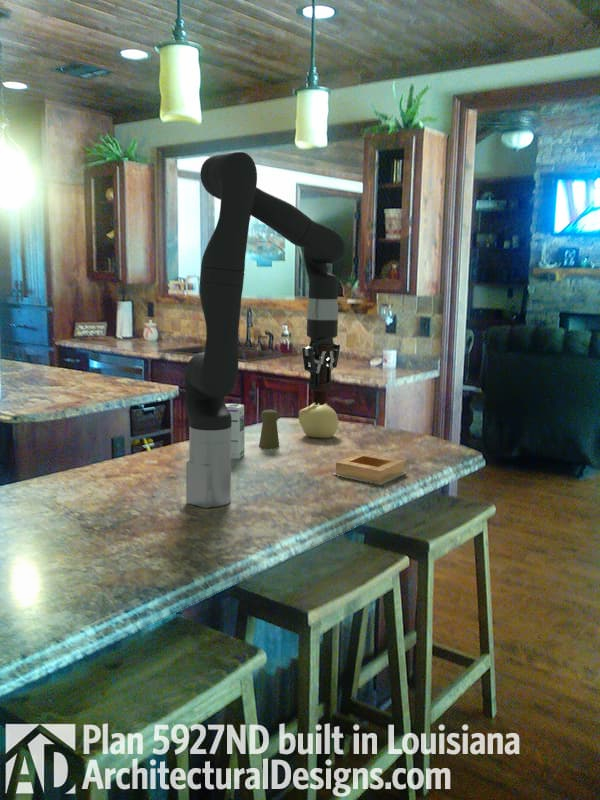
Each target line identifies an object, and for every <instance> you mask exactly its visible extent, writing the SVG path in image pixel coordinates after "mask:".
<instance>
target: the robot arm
mask: <svg viewBox="0 0 600 800" xmlns="http://www.w3.org/2000/svg"><path fill="white" fill-rule="evenodd" d="M257 172H258V170H257V166H256V164H255V161H254V159H253V158H252V156H251V155H250V154H248V153H247V152H245V151H238V150H237V151H230V152H224V153H219V154H214V155H211V156H209V157H208V158H207V159H206V160H204V162H203V163H202V165H201V168H200V174H199V175H200V181H201V183H202V187H203V188H204V189H205V191H206V192H207V193H208V194H209V195H211V196H212V197H214V198H216V199H218V200H220V208H219V215H218V220H217V224H216V227H215V229H214V231H213V233H212V235H211V236H210V239H209V240H208V243H207V245H206V248H205V250H204V251H203V255H202V259H201V263H200V264H201V265H200V267H201V268H200V273H199V287H198V288H199V290H198V291H199V299H200V303H201V307H202V308H201V309H202V312H203V318H204V323H205V329H206V335H205V337H206V338H205V348H204V351H203V352H198V353H196V354H194V355H193V356H192V357H191V359H189V361H188V363H187V365H186V369H185V374H184V386H185V387H184V390H185V391H184V393H185V410H186V414H187V416H188V420H189V421H188V423H189V424H188V425H189V429H188V430H189V433H188V434H189V445H188V446H189V450H188V451H189V454H188V455H189V460H188V461H186V463H185V465H186V466H185V471H186V472H185V475H186V477H185V478H186V479H185V480H186V482H185V484H186V485H185V486H186V487H185V489H186V491H185V493H186V494H185V497H186V499H185V502H186V504H188V505H193V506H195V507H196V506H197V507H201V508H203V509H209V508H217V507H221V506H225V505H228V504H230V502H231V501H232V500H231V499H232V498H231V497H232V495H231V494H232V491H231V490H232V484H231V483H232V459H231V425H232V418H231V414H230V412H229V411H228V409H227V407H226V405H225V404H226V403H225V398H226V397H228V396H229V395H231V393H232V392H233V391H234V390H235V388H236V385H237V384H238V379H239V327H240V321H241V319H240V318H241V307H242V296H243V289H244V281H245V269H246V268H245V267H246V257H247V256H246V253H247V245H248V236H249V228H250V220H251V217H253V218H254V219H257V220H258V221H259V222H260V223H262V224H264V225H266V226H267V227H268V228H270V229H272V231H274V232H276V233H277V234H279V235H280V236H282V237H283V238H284V239H285V240H287V241H288V242H290V243H291V244H292V245H294V246H296V247H299V248H303V250H302V251H303V253H302V254H303V259H304V264H305V270H306V275H307V278H308V301H307V308H306V309H307V310H306V311H307V312H306V314H307V315H306V336H307V338H310V342H309V345H308V346H307V347H306V346H303V347H302V349H301V352H302V359H303V361H302V362H303V368H304V371H306V372H309V374H310V375H309V388H310V387H311V388H315V389H317V388H319V371H320V367H321V365H322V364H323V361H324V356H325V353H326V351H324V350H323V351H320V345H324V344H332V345H333V351H328V358H327V371H326V372H327V375H326V376H327V378H326V380H327V382H328V383H329V384H330V386H331V384H332V372H333V371H334V369H336V368H337V367H338V360H339V357H340V356H339V355H340V349H341V344H339V343H335V342H334V339H336V338H337V337H338V327H339V326H338V325H339V302H338V301H339V300H338V297H339V296H338V292H339V290H338V289H339V280H338V277H337V276H336V275H335V274H333V273H330V272H329V269H328V265H327V264H336V263H339V262H341V261H342V260H344V257H345V255H346V253H347V245H346V243H345V239H344V238H342V236H341V235H340V234H339V233H338V232H337V231H335V230H334V229H331V228H329V227H328V226H325V225H323V224H321V223H319V222H316V221H314V220H312V219H311V218H310V217H309V216H307V214H305V213H304V212H302V211H301V210H300V209H299V208H298V207H296V206H294V205H293V204H291V203H290V202H287V201H286V200H283V199H281V198H280V197H277V196H274V195H272V194H270V193H269V192H266V191H264V190H262V189H261V188H259V187H257V186H258V185H257V184H258V173H257ZM314 350H315V351H314ZM315 359H319V360H315ZM315 364H317V365H316V368H315Z"/></svg>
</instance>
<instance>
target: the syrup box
mask: <svg viewBox="0 0 600 800" xmlns="http://www.w3.org/2000/svg"><path fill="white" fill-rule="evenodd" d="M225 405H226V407H227V409H228V411H229V412H230V414H231V418H232V425H231V460H240V459H241V458H242V457H243V456H244V455H245V405H244V404H242V403H225Z"/></svg>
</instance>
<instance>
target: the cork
mask: <svg viewBox="0 0 600 800" xmlns="http://www.w3.org/2000/svg"><path fill="white" fill-rule="evenodd" d="M260 418H261V420H262V424H261V432H260V438H259V444H258V447H259V448H261V449H266V450H274V448H276V449H279V448H280V442H279V441H280V440H279V433H278V432H279V431H278V424H277V421H278V420H279V412H278V411H277V410H275V409H264V410H262V412H261V414H260ZM278 447H279V448H278Z"/></svg>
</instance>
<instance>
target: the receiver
mask: <svg viewBox="0 0 600 800" xmlns="http://www.w3.org/2000/svg"><path fill="white" fill-rule="evenodd" d="M406 474H407V471H405V460H403V459H397V458H392V457H387V456H380V455H376V454H371V453H364V452H360V453H357V454H354V455H351V456H348V457H346V458H344V459H341V460H338V461H336V462H335V472H333V473H332V475H333V476H335V475H337V476H336V477H340V476H341V478H345V477H346V479H349V478H350V480H355V481H360V482H365V483H368V482H369V483H370V484H373V483H374V485H380V486H383V485H384V484H387V483H388V482H392V481H393V480H395V479H397V478H399V477H401V476H404V475H406Z"/></svg>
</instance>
